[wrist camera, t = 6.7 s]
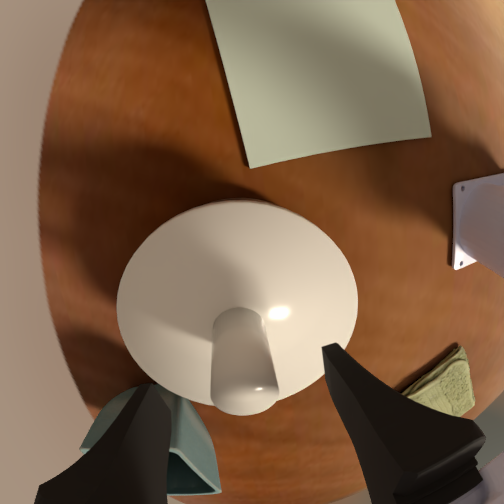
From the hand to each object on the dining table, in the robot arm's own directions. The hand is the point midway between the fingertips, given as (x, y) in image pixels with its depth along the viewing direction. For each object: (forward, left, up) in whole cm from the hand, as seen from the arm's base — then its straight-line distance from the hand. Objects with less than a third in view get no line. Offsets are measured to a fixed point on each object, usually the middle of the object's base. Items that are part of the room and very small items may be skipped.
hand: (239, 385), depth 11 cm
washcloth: (-20, +26, -11) cm, 35 cm away
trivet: (-10, -14, -10) cm, 20 cm away
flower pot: (+10, +11, -10) cm, 18 cm away
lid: (0, 0, -4) cm, 4 cm away
